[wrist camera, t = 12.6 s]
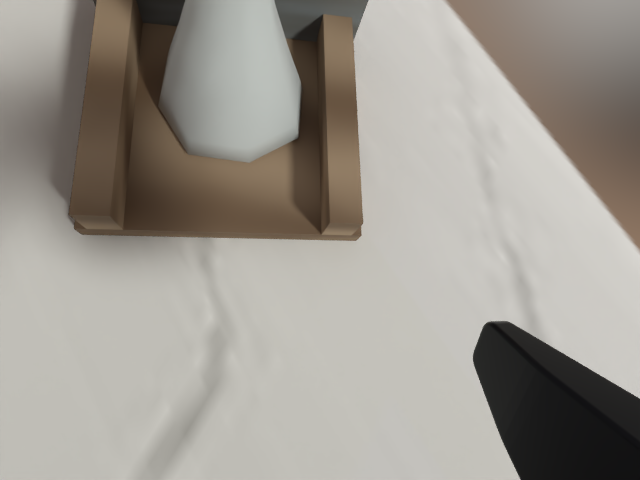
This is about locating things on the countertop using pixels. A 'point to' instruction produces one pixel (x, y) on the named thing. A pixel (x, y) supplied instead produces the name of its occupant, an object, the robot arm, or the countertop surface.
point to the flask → (231, 80)
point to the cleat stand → (205, 172)
